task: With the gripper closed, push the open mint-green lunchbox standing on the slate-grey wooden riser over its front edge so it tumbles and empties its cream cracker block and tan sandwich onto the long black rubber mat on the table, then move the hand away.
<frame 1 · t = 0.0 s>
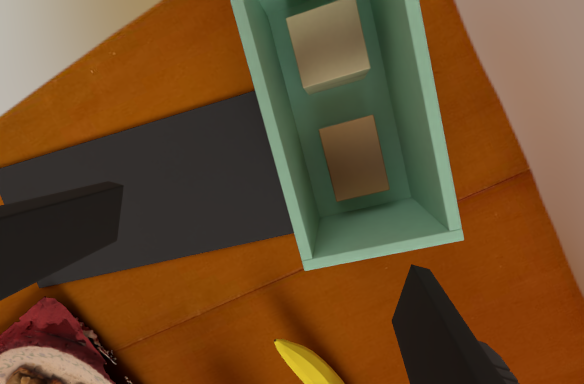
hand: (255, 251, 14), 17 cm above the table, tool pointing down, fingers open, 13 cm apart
cracker: (329, 58, 22), point 7 cm above the table, touching lunchbox
banana: (333, 378, 35), on the table
lunchbox: (341, 109, 23), point 6 cm above the table, touching cracker, riser, sandwich
mat: (137, 199, 33), on the table
sandwich: (352, 156, 23), point 7 cm above the table, touching lunchbox
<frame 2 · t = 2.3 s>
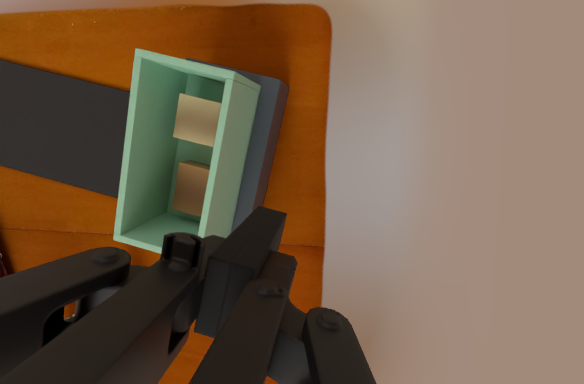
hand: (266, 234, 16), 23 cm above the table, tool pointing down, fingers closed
riser: (234, 151, 40), on the table
cracker: (213, 121, 33), point 7 cm above the table, touching lunchbox
lunchbox: (209, 154, 34), point 6 cm above the table, touching cracker, riser, sandwich
mat: (65, 131, 42), on the table
sandwich: (201, 186, 34), point 7 cm above the table, touching lunchbox
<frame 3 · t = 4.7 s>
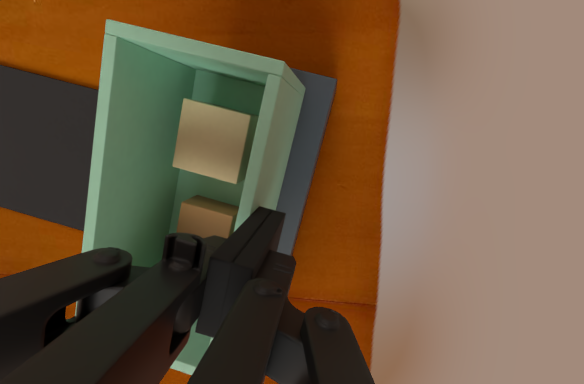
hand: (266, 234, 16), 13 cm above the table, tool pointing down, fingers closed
riser: (256, 176, 29), on the table
cracker: (232, 139, 22), point 7 cm above the table, touching lunchbox
lunchbox: (225, 186, 23), point 6 cm above the table, touching cracker, sandwich
mat: (27, 145, 31), on the table
sandwich: (213, 232, 23), point 7 cm above the table, touching lunchbox
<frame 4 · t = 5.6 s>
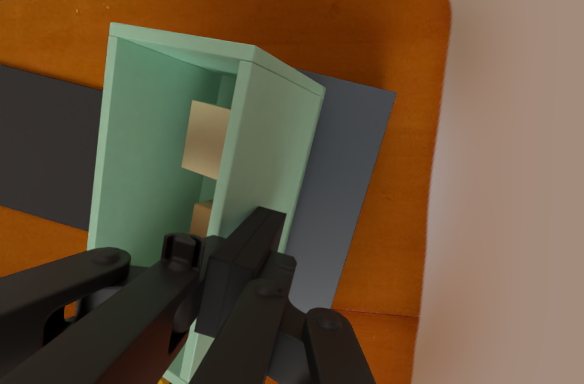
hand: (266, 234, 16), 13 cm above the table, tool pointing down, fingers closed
riser: (298, 187, 29), on the table
cracker: (250, 144, 21), point 7 cm above the table, tilted 17°, touching lunchbox
lunchbox: (245, 191, 23), point 7 cm above the table, tilted 17°, touching cracker, gripper, riser, sandwich
mat: (65, 155, 31), on the table
sandwich: (230, 238, 23), point 7 cm above the table, tilted 17°, touching lunchbox
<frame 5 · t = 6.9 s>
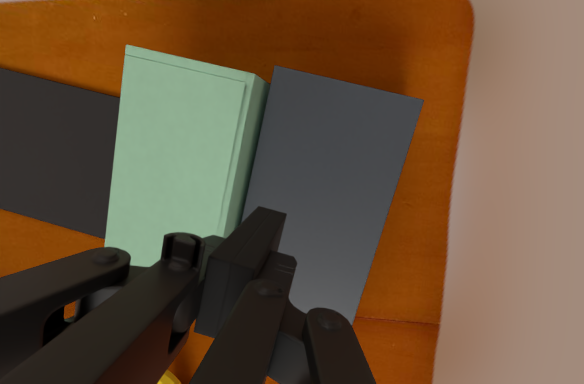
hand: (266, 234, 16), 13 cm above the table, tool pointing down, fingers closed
riser: (318, 194, 29), on the table
lunchbox: (247, 188, 25), point 4 cm above the table, tilted 90°, touching cracker, mat, sandwich
mat: (82, 163, 31), on the table
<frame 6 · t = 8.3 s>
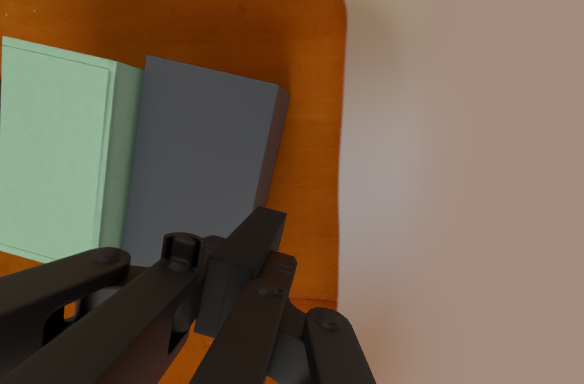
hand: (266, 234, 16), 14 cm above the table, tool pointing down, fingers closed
riser: (218, 178, 30), on the table
lunchbox: (138, 170, 27), point 4 cm above the table, tilted 90°, touching cracker, mat, sandwich
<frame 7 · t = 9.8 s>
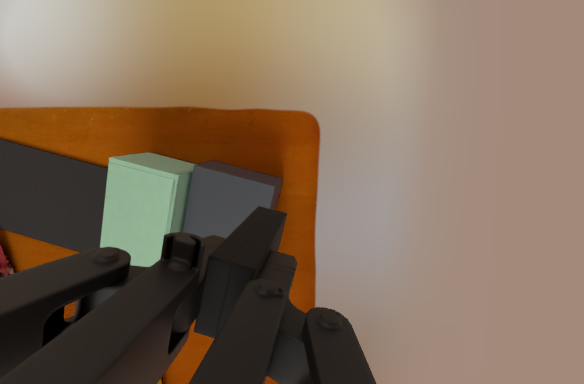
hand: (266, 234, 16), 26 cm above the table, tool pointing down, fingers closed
riser: (234, 230, 45), on the table
lunchbox: (184, 230, 41), point 4 cm above the table, tilted 90°, touching cracker, mat, sandwich
mat: (84, 208, 47), on the table
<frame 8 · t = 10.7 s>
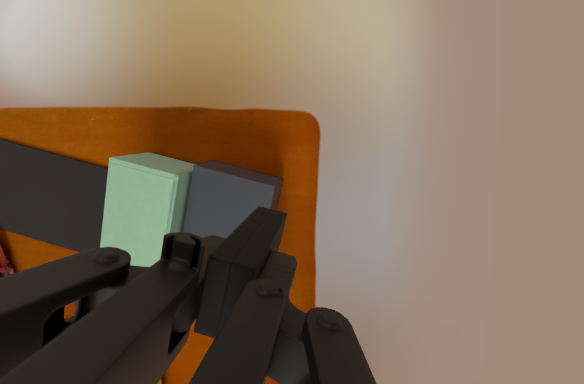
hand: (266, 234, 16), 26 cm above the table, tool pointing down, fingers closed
riser: (234, 230, 45), on the table
lunchbox: (184, 230, 41), point 4 cm above the table, tilted 90°, touching cracker, mat, sandwich
mat: (84, 208, 47), on the table
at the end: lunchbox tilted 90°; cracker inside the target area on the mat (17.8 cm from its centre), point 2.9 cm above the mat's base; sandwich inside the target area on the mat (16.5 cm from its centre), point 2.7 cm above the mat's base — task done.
